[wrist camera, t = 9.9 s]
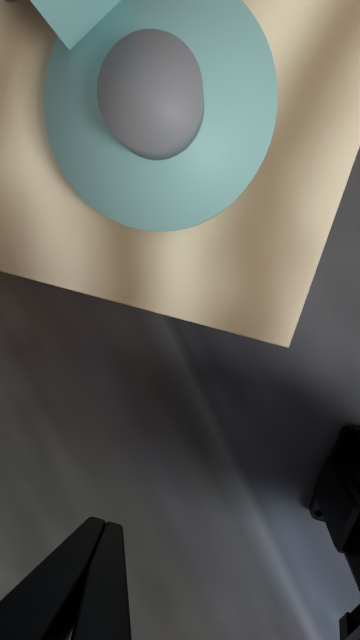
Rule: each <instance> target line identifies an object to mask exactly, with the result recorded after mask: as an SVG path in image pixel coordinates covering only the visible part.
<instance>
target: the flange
mask: <svg viewBox="0 0 360 640" xmlns="http://www.w3.org/2000/svg"><path fill="white" fill-rule="evenodd" d="M30 1H31V2H32V3H33V5H34V6H35V7H36V8H37V10H38V11H39V12H40V13H41V15H42V16H43V17H44V19H45V20H46V21H47V22H48V24H49V25H50V26H51V28H52V29H53V30H54V31H55V33H56V34H57V35H58V37H57V39H56V41H55V43H54V46H53V49H52V52H51V55H50V58H49V62H48V66H47V71H46V75H45V84H44V117H45V125H46V130H47V134H48V139H49V143H50V145H51V148H52V151H53V154H54V157H55V159H56V161H57V163H58V165H59V167H60V169H61V171H62V173H63V174H64V176H65V177H66V179H67V180H68V182H69V184H70V185H71V186H72V187H73V189H74V190H75V191H76V192H77V193H78V195H79V196H80V197H81V198H82V199H83V200H84V201H86V202H87V203H88V204H89V205H90V206H91V207H92V208H94V209H95V210H96V211H98V212H99V213H101V214H102V215H104V216H106V217H107V218H109V219H111V220H113V221H115V222H117V223H120V224H123V225H125V226H128V227H132V228H136V229H140V230H148V231H159V232H161V231H176V230H181V229H187V228H190V227H193V226H196V225H199V224H201V223H203V222H205V221H207V220H209V219H211V218H213V217H215V216H216V215H218V214H219V213H221V212H222V211H224V210H225V209H226V208H227V207H228V206H230V205H231V204H232V203H233V202H234V201H235V200H236V199H237V198H238V197H239V196H240V195H241V194H242V192H243V191H244V190H245V189H246V187H247V186H248V185H249V183H250V182H251V180H252V179H253V177H254V176H255V174H256V173H257V171H258V169H259V167H260V165H261V164H262V162H263V160H264V158H265V155H266V153H267V150H268V148H269V145H270V143H271V139H272V135H273V131H274V128H275V122H276V115H277V106H278V86H277V76H276V69H275V65H274V60H273V56H272V52H271V50H270V47H269V44H268V41H267V38H266V36H265V34H264V32H263V30H262V28H261V26H260V25H259V23H258V21H257V19H256V18H255V17H254V15H253V14H252V12H251V11H250V9H249V8H248V7H247V6H246V4H245V3H244V2H243V1H242V0H30Z"/></svg>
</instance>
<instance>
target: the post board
mask: <svg viewBox="0 0 360 640" xmlns="http://www.w3.org/2000/svg"><path fill="white" fill-rule="evenodd" d="M242 1H243V2H244V3H245V4H246V6H247V7H248V8H249V9H250V11H251V12H252V14H253V15H254V17H255V18H256V19H257V21H258V23H259V25H260V26H261V28H262V30H263V32H264V34H265V36H266V38H267V41H268V44H269V47H270V50H271V52H272V56H273V60H274V65H275V69H276V76H277V86H278V106H277V115H276V122H275V128H274V131H273V135H272V139H271V143H270V145H269V148H268V150H267V153H266V155H265V158H264V160H263V162H262V164H261V165H260V167H259V169H258V171H257V173H256V174H255V176H254V177H253V179H252V180H251V182H250V183H249V185H248V186H247V187H246V189H245V190H244V191H243V192H242V194H241V195H240V196H239V197H238V198H237V199H236V200H235V201H234V202H233V203H232V204H231V205H230V206H228V207H227V208H226V209H225V210H224V211H222V212H221V213H219V214H218V215H216V216H215V217H213V218H211V219H209V220H207V221H205V222H203V223H201V224H199V225H196V226H193V227H190V228H187V229H181V230H176V231H161V232H159V231H148V230H140V229H136V228H132V227H128V226H125V225H123V224H120V223H117V222H115V221H113V220H111V219H109V218H107V217H106V216H104V215H102V214H101V213H99V212H98V211H96V210H95V209H94V208H92V207H91V206H90V205H89V204H88V203H87V202H86V201H84V200H83V199H82V198H81V197H80V196H79V195H78V193H77V192H76V191H75V190H74V189H73V187H72V186H71V185H70V184H69V182H68V180H67V179H66V177H65V176H64V174H63V173H62V171H61V169H60V167H59V165H58V163H57V161H56V159H55V157H54V154H53V151H52V148H51V145H50V143H49V139H48V134H47V130H46V125H45V117H44V84H45V75H46V71H47V66H48V62H49V58H50V55H51V52H52V49H53V46H54V43H55V41H56V39H57V37H58V35H57V34H56V33H55V31H54V30H53V29H52V28H51V26H50V25H49V24H48V22H47V21H46V20H45V19H44V17H43V16H42V15H41V13H40V12H39V11H38V10H37V8H36V7H35V6H34V5H33V3H32V2H31V1H30V0H0V271H2V272H6V273H10V274H13V275H17V276H21V277H25V278H28V279H32V280H36V281H40V282H43V283H47V284H51V285H55V286H58V287H62V288H66V289H70V290H73V291H77V292H81V293H85V294H88V295H92V296H96V297H100V298H103V299H107V300H111V301H115V302H119V303H122V304H126V305H130V306H134V307H137V308H141V309H145V310H149V311H152V312H156V313H160V314H164V315H167V316H171V317H175V318H179V319H182V320H186V321H190V322H194V323H197V324H201V325H205V326H209V327H213V328H216V329H220V330H224V331H228V332H231V333H235V334H239V335H243V336H246V337H250V338H254V339H258V340H261V341H265V342H269V343H273V344H276V345H280V346H284V347H288V348H289V345H290V342H291V339H292V337H293V334H294V331H295V328H296V325H297V322H298V320H299V317H300V314H301V311H302V308H303V305H304V303H305V300H306V297H307V294H308V291H309V288H310V285H311V283H312V280H313V277H314V274H315V271H316V268H317V266H318V263H319V260H320V257H321V254H322V251H323V249H324V246H325V243H326V240H327V237H328V234H329V231H330V229H331V226H332V223H333V220H334V217H335V214H336V212H337V209H338V206H339V203H340V200H341V197H342V195H343V192H344V189H345V186H346V183H347V180H348V177H349V175H350V172H351V169H352V166H353V163H354V160H355V158H356V155H357V152H358V149H359V146H360V0H242Z"/></svg>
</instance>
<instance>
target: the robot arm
mask: <svg viewBox="0 0 360 640" xmlns="http://www.w3.org/2000/svg"><path fill="white" fill-rule="evenodd" d="M350 433H354V435H353V436H351V437H348V435H349V434H350ZM313 492H314V496H313V498H312V501H311V503H310V505H309V511H310V513H311V516H312V517H313V518H314V519H316V520H319V521H323V522H325V523H326V525H327V528H328V531H329V533H330V536H331V538H332V541H333V543H334V546H335V548H336V549H337V551H338V552H339V553H343V554H345V557H346V559H347V562H348V564H349V567H350V569H351V572H352V574H353V576H354V579H355V581H356V584H357V586H358V589H359V591H360V427H357V426H353V425H348V426H345V427H344V428H343V429H342V430H341V432H340V435H339V437H338V439H337V442H336V444H335V446H334V449H333V451H332V454H331V455H330V456H329V457H328V458H327V459H326V461H325V464H324V466H323V468H322V471H321V473H320V475H319V478H318V480H317V483H316V485H315V487H314V490H313ZM316 510H320V511H318V512H317V511H316ZM339 627H340V640H360V604H359V605H358V606H357V607H356V608H355V609H354V610H353V611H352V612H351V613H349V612H347V613H346V614H345V615H344V616H343V617H341V618H340V620H339ZM72 630H73V631H72ZM71 632H72V636H71V640H132V638H131V625H130V613H129V600H128V588H127V575H126V562H125V550H124V537H123V527H122V526H121V525H120V524H116V523H113V522H107V523H106V522H105V521H104V520H102V519H99V518H96V517H89V518H88V519H87V520H86V521H85V522H84V523H83V524H82V525H80V526H79V527H78V528H77V529H76V530H75V531H74V532H73V533H72V534H71V535H70V536H69V537H68V538H67V539H66V540H65V541H63V542H62V543H61V544H60V545H59V546H58V547H57V548H56V549H55V550H54V551H53V552H52V553H51V554H50V555H49V556H48V557H47V558H45V559H44V560H43V561H42V562H41V563H40V564H39V565H38V566H37V567H36V568H35V569H34V570H33V571H32V572H31V573H30V574H28V575H27V576H26V577H25V578H24V579H23V580H22V581H21V582H20V583H19V584H18V585H17V586H16V587H15V588H14V589H13V590H12V591H10V592H9V593H8V594H7V595H6V596H5V597H4V598H3V599H2V600H1V601H0V640H68V639H69V637H70V635H71Z"/></svg>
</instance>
